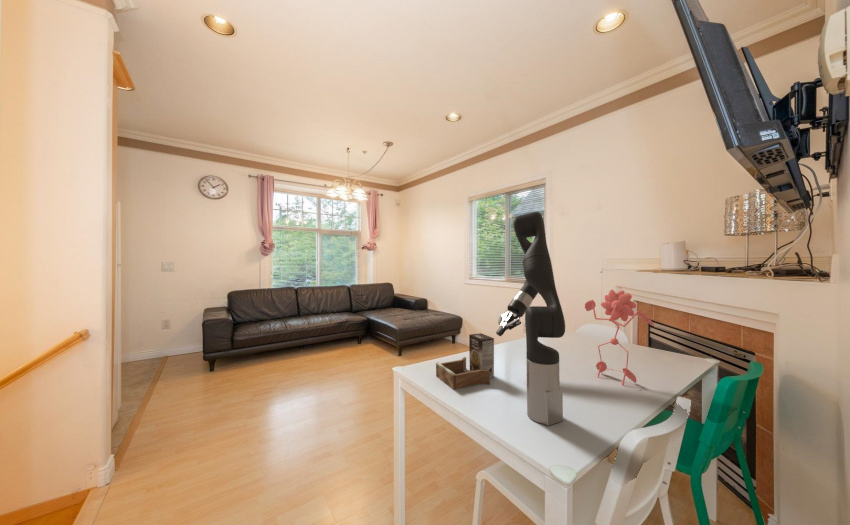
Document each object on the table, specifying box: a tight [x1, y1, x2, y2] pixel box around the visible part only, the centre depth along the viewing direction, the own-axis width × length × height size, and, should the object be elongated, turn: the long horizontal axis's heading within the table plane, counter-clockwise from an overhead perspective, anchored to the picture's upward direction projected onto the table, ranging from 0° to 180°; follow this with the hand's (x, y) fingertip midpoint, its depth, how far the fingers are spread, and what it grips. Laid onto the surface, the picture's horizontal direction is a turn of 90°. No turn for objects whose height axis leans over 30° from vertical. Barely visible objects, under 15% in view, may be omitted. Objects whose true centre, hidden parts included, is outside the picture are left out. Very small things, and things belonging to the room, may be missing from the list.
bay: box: [435, 356, 491, 390], centre depth 118 cm, size 18×15×6 cm
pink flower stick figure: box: [584, 289, 655, 392], centre depth 117 cm, size 15×26×35 cm, turn 30°
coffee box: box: [468, 332, 495, 379], centre depth 122 cm, size 9×6×16 cm
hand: (498, 334), depth 126 cm, fingers closed
